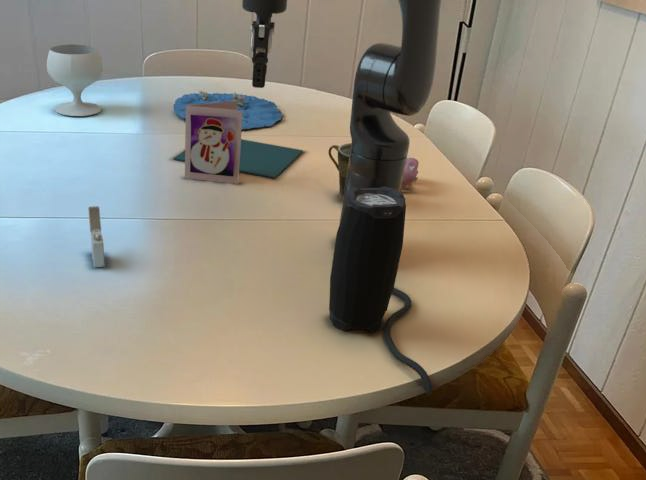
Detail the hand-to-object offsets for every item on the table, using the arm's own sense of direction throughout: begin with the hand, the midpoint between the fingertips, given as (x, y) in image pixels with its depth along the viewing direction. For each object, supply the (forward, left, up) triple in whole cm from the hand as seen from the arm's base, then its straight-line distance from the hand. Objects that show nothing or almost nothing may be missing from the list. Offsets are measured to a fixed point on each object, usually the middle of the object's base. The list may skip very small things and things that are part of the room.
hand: (259, 81), depth 128 cm
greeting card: (+10, +12, -23) cm, 28 cm away
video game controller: (+25, -25, -23) cm, 42 cm away
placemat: (+25, +12, -23) cm, 36 cm away
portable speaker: (-34, -30, -23) cm, 51 cm away
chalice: (+36, +62, -23) cm, 75 cm away
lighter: (-34, +14, -23) cm, 44 cm away
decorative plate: (+55, +27, -23) cm, 65 cm away
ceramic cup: (+13, -17, -23) cm, 31 cm away
